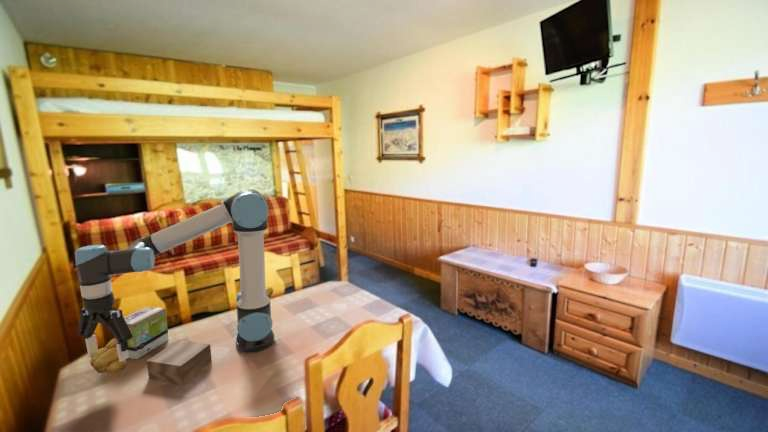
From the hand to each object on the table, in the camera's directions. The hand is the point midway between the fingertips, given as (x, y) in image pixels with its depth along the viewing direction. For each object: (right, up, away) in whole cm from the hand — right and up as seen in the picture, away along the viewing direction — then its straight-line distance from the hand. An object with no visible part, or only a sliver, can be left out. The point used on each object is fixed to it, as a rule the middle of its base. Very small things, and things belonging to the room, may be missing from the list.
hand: (108, 357), depth 112 cm
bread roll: (0, -4, +1) cm, 4 cm away
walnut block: (+16, -10, +14) cm, 23 cm away
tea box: (-8, -8, +28) cm, 30 cm away
